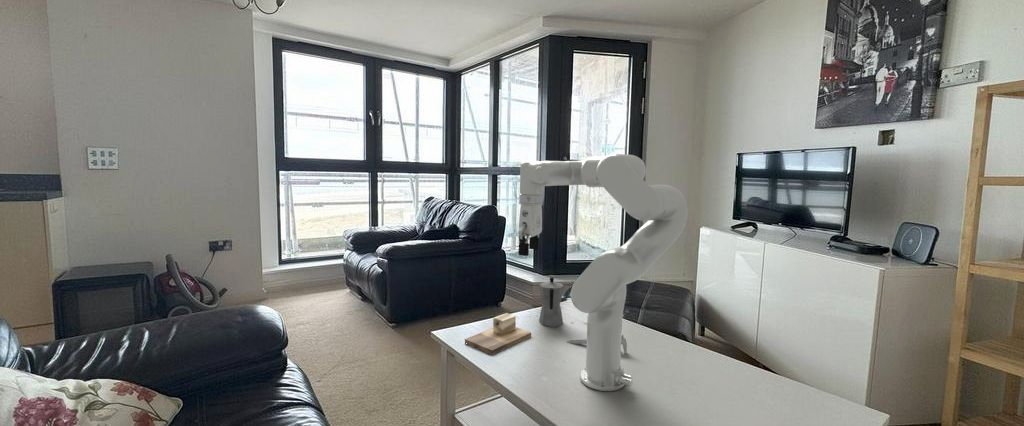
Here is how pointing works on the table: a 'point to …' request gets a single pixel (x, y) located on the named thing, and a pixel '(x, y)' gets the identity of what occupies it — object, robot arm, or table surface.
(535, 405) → the table surface
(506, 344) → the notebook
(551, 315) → the coffeepot
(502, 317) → the beige block with knob
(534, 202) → the robot arm
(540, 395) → the table surface
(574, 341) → the caliper
